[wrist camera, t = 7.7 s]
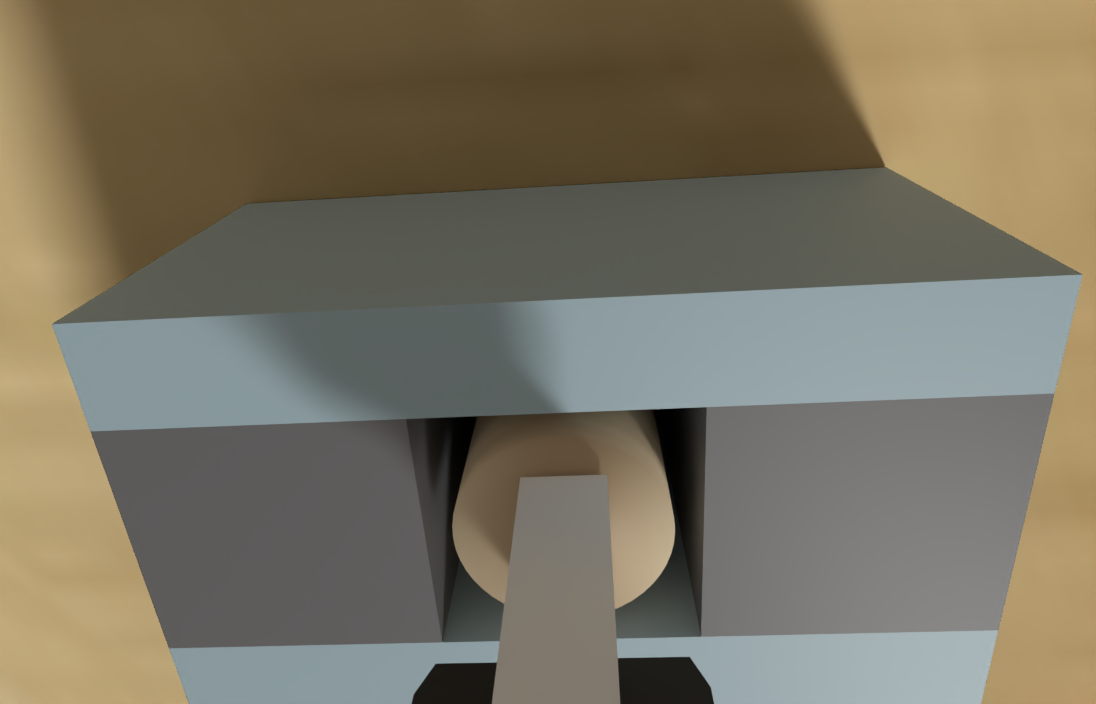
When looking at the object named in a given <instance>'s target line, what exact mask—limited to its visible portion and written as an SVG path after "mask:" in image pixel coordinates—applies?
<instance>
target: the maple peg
mask: <svg viewBox="0 0 1096 704" xmlns="http://www.w3.org/2000/svg"><path fill="white" fill-rule="evenodd" d="M578 475H607V478H608V496H609V514H610V531H611V549H612V567H613V584H614V602H615V609H617V608H619V607H621V606H623V605H625V604H627V603H629V602H631V601H632V600H634V599H635V598H637V597H638V596H640V595H641V594H642V593H644V592H645V591H646V590H647V589H648V588H649V587H650V586H651V585H652V584H653V583H654V582H655V581H656V579H657V578H658V577H659V576H660V575H661V573H662V571H663V570H664V568H665V566H666V565H667V563H668V560H669V558H670V555H671V553H672V549H673V545H674V538H675V522H674V515H673V509H672V504H671V498H670V493H669V488H668V482H667V477H666V471H665V466H664V461H663V455H662V450H661V444H660V439H659V434H658V428H657V423H656V417H655V412H654V409H647V410H622V411H596V412H571V413H545V414H520V415H494V416H477V418H476V422H475V426H474V430H473V435H472V439H471V443H470V447H469V451H468V455H467V459H466V464H465V468H464V472H463V476H462V480H461V484H460V488H459V493H458V497H457V501H456V505H455V509H454V513H453V523H452V529H453V539H454V544H455V548H456V551H457V554H458V556H459V559H460V561H461V562H462V564H463V566H464V568H465V569H466V571H467V572H468V574H469V575H470V576H471V577H472V579H473V580H474V581H475V582H476V583H477V584H478V585H479V586H480V587H481V588H482V589H483V590H484V591H486V592H487V593H488V594H490V595H491V596H492V597H494V598H495V599H497V600H499V601H500V602H502V603H505V595H506V587H507V579H508V571H509V563H510V555H511V547H512V539H513V531H514V523H515V515H516V507H517V499H518V491H519V483H520V477H548V476H578Z"/></svg>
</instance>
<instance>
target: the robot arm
mask: <svg viewBox="0 0 1096 704" xmlns="http://www.w3.org/2000/svg"><path fill="white" fill-rule="evenodd" d="M412 704H714V701H713V696H712V690H711V687H710V685H709V684H708V682H707V681H706V680H705V678H704V677H703V675H702V674H701V672H700V671H699V669H698V668H697V667H696V665H695V664H694V662H693V661H692V659H691V658H690V657H651V658H618V655H617V637H616V620H615V602H614V584H613V567H612V549H611V531H610V514H609V496H608V478H607V475H578V476H548V477H520V483H519V491H518V499H517V507H516V515H515V523H514V531H513V539H512V547H511V555H510V563H509V571H508V579H507V587H506V595H505V603H504V611H503V619H502V627H501V635H500V643H499V651H498V658H497V662H496V663H440V664H435V665H434V667H433V668H432V669H431V671H430V672H429V674H428V675H427V676H426V678H425V679H424V681H423V682H422V683H421V685H420V686H419V688H418V689H417V690H416V692H415V693H414V695H413V700H412Z"/></svg>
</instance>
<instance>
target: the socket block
mask: <svg viewBox="0 0 1096 704" xmlns="http://www.w3.org/2000/svg"><path fill="white" fill-rule="evenodd" d="M1081 279H1082V274H1081V273H1079V272H1077V271H1075V270H1073V269H1071V268H1070V267H1068V266H1066V265H1064V264H1062V263H1061V262H1059V261H1057V260H1055V259H1053V258H1051V257H1050V256H1048V255H1046V254H1044V253H1042V252H1040V251H1039V250H1037V249H1035V248H1033V247H1031V246H1029V245H1028V244H1026V243H1024V242H1022V241H1020V240H1018V239H1017V238H1015V237H1013V236H1011V235H1009V234H1007V233H1006V232H1004V231H1002V230H1000V229H998V228H996V227H995V226H993V225H991V224H989V223H987V222H985V221H984V220H982V219H980V218H978V217H976V216H975V215H973V214H971V213H969V212H967V211H965V210H964V209H962V208H960V207H958V206H956V205H954V204H953V203H951V202H949V201H947V200H945V199H943V198H942V197H940V196H938V195H936V194H934V193H932V192H931V191H929V190H927V189H925V188H923V187H921V186H920V185H918V184H916V183H914V182H912V181H910V180H909V179H907V178H905V177H903V176H901V175H899V174H898V173H896V172H894V171H892V170H890V169H888V168H887V167H883V168H866V169H848V170H831V171H813V172H796V173H778V174H760V175H743V176H725V177H708V178H690V179H673V180H655V181H637V182H620V183H602V184H585V185H567V186H549V187H532V188H514V189H497V190H479V191H462V192H444V193H426V194H409V195H391V196H374V197H356V198H339V199H321V200H303V201H286V202H268V203H251V204H245V205H244V206H242V207H240V208H239V209H237V210H236V211H234V212H232V213H231V214H229V215H227V216H226V217H224V218H223V219H221V220H219V221H218V222H216V223H215V224H213V225H211V226H210V227H208V228H206V229H205V230H203V231H202V232H200V233H198V234H197V235H195V236H194V237H192V238H190V239H189V240H187V241H185V242H184V243H182V244H181V245H179V246H177V247H176V248H174V249H173V250H171V251H169V252H168V253H166V254H164V255H163V256H161V257H160V258H158V259H156V260H155V261H153V262H151V263H150V264H148V265H147V266H145V267H143V268H142V269H140V270H139V271H137V272H135V273H134V274H132V275H130V276H129V277H127V278H126V279H124V280H122V281H121V282H119V283H118V284H116V285H114V286H113V287H111V288H109V289H108V290H106V291H105V292H103V293H101V294H100V295H98V296H97V297H95V298H93V299H92V300H90V301H88V302H87V303H85V304H84V305H82V306H80V307H79V308H77V309H75V310H74V311H72V312H71V313H69V314H67V315H66V316H64V317H63V318H61V319H59V320H58V321H56V322H54V323H53V324H52V326H53V329H54V332H55V334H56V337H57V340H58V343H59V345H60V348H61V351H62V354H63V357H64V359H65V362H66V365H67V368H68V370H69V373H70V376H71V379H72V381H73V384H74V387H75V390H76V392H77V395H78V398H79V401H80V404H81V406H82V409H83V412H84V415H85V417H86V420H87V423H88V426H89V428H90V431H91V434H92V437H93V439H94V442H95V445H96V448H97V451H98V453H99V456H100V459H101V462H102V464H103V467H104V470H105V473H106V475H107V478H108V481H109V484H110V486H111V489H112V492H113V495H114V498H115V500H116V503H117V506H118V509H119V511H120V514H121V517H122V520H123V522H124V525H125V528H126V531H127V534H128V536H129V539H130V542H131V545H132V547H133V550H134V553H135V556H136V558H137V561H138V564H139V567H140V569H141V572H142V575H143V578H144V581H145V583H146V586H147V589H148V592H149V594H150V597H151V600H152V603H153V605H154V608H155V611H156V614H157V616H158V619H159V622H160V625H161V628H162V630H163V633H164V636H165V639H166V641H167V644H168V647H169V650H170V652H171V655H172V658H173V661H174V663H175V666H176V669H177V672H178V675H179V677H180V680H181V683H182V686H183V688H184V691H185V694H186V697H187V699H188V702H189V704H412V700H413V695H414V693H415V692H416V690H417V689H418V688H419V686H420V685H421V683H422V682H423V681H424V679H425V678H426V676H427V675H428V674H429V672H430V671H431V669H432V668H433V667H434V665H435V664H440V663H496V662H497V658H498V651H499V643H500V635H501V627H502V619H503V611H504V603H502V602H500V601H499V600H497V599H495V598H494V597H492V596H491V595H490V594H488V593H487V592H486V591H484V590H483V589H482V588H481V587H480V586H479V585H478V584H477V583H476V582H475V581H474V580H473V579H472V577H471V576H470V575H469V574H468V572H467V571H466V569H465V568H464V566H463V564H462V562H461V561H460V559H459V556H458V554H457V551H456V548H455V544H454V539H453V529H452V523H453V513H454V509H455V505H456V501H457V497H458V493H459V488H460V484H461V480H462V476H463V472H464V468H465V464H466V459H467V455H468V451H469V447H470V443H471V439H472V435H473V430H474V426H475V422H476V418H477V416H494V415H520V414H545V413H571V412H596V411H622V410H647V409H660V425H657V428H658V434H659V439H660V444H661V450H662V455H663V461H664V466H665V471H666V477H667V482H668V488H669V493H670V498H671V504H672V509H673V515H674V522H675V538H674V545H673V549H672V553H671V555H670V558H669V560H668V563H667V565H666V566H665V568H664V570H663V571H662V573H661V575H660V576H659V577H658V578H657V579H656V581H655V582H654V583H653V584H652V585H651V586H650V587H649V588H648V589H647V590H646V591H645V592H644V593H642V594H641V595H640V596H638V597H637V598H635V599H634V600H632V601H631V602H629V603H627V604H625V605H623V606H621V607H619V608H617V609H615V620H616V637H617V655H618V658H651V657H690V658H691V659H692V661H693V662H694V664H695V665H696V667H697V668H698V669H699V671H700V672H701V674H702V675H703V677H704V678H705V680H706V681H707V682H708V684H709V685H710V687H711V690H712V696H713V701H714V704H981V701H982V697H983V693H984V688H985V684H986V680H987V676H988V672H989V667H990V663H991V659H992V655H993V650H994V646H995V642H996V638H997V634H998V629H999V625H1000V621H1001V617H1002V613H1003V608H1004V604H1005V600H1006V596H1007V591H1008V587H1009V583H1010V579H1011V575H1012V570H1013V566H1014V562H1015V558H1016V553H1017V549H1018V545H1019V541H1020V537H1021V532H1022V528H1023V524H1024V520H1025V515H1026V511H1027V507H1028V503H1029V499H1030V494H1031V490H1032V486H1033V482H1034V478H1035V473H1036V469H1037V465H1038V461H1039V456H1040V452H1041V448H1042V444H1043V440H1044V435H1045V431H1046V427H1047V423H1048V418H1049V414H1050V410H1051V406H1052V402H1053V397H1054V393H1055V389H1056V385H1057V381H1058V376H1059V372H1060V368H1061V364H1062V359H1063V355H1064V351H1065V347H1066V343H1067V338H1068V334H1069V330H1070V326H1071V321H1072V317H1073V313H1074V309H1075V305H1076V300H1077V296H1078V292H1079V288H1080V284H1081Z"/></svg>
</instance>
